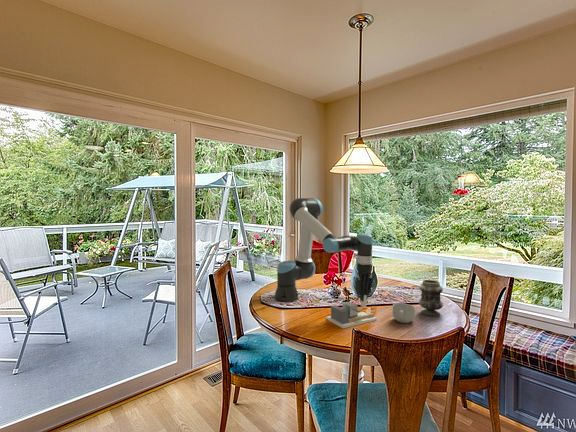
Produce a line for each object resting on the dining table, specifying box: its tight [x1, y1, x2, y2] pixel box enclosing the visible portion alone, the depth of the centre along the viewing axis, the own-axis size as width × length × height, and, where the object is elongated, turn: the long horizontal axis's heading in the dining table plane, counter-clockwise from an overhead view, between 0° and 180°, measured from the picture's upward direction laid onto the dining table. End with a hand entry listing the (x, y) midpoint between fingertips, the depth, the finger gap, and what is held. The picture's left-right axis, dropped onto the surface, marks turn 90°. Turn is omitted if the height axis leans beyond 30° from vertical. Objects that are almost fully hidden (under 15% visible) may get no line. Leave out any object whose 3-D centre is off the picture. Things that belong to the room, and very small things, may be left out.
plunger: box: [342, 301, 360, 319], centre depth 158 cm, size 10×5×7 cm, turn 28°
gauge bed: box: [325, 304, 377, 329], centre depth 161 cm, size 14×22×7 cm, turn 118°
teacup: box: [392, 302, 416, 324], centre depth 157 cm, size 14×11×8 cm
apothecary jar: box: [418, 279, 444, 318], centre depth 169 cm, size 12×12×18 cm
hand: (363, 306), depth 165 cm, fingers closed
